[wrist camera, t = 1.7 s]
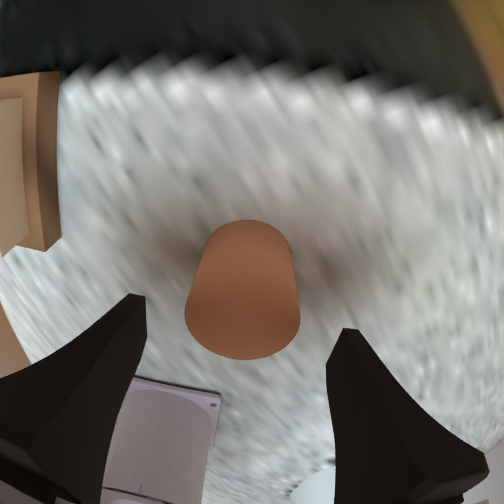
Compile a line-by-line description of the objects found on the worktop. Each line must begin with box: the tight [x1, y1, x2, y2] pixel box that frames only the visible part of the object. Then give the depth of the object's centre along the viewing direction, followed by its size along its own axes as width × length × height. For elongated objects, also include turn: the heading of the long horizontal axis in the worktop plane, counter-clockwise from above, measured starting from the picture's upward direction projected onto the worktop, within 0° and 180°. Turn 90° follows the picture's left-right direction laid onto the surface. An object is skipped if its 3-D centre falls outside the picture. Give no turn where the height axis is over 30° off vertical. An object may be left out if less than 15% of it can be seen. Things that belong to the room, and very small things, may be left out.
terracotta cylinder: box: [185, 220, 300, 360], centre depth 14 cm, size 4×4×4 cm
